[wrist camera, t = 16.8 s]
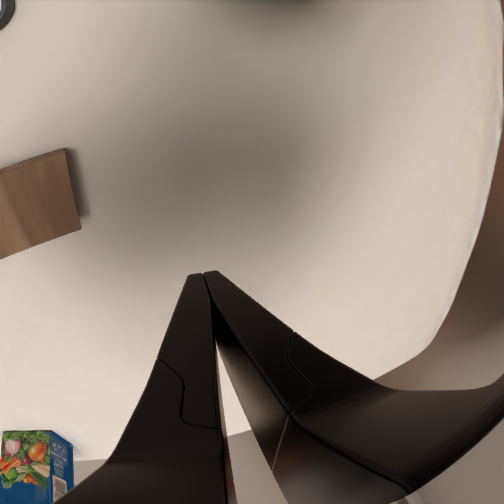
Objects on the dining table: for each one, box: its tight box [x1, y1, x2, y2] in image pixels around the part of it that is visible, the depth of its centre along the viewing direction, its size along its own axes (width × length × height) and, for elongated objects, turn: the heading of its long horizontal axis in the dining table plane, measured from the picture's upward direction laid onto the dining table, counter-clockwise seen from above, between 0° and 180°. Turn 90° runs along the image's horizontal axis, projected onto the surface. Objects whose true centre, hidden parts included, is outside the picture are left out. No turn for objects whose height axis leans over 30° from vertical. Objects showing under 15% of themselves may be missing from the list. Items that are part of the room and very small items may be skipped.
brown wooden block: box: [0, 148, 82, 259], centre depth 14 cm, size 2×5×8 cm
